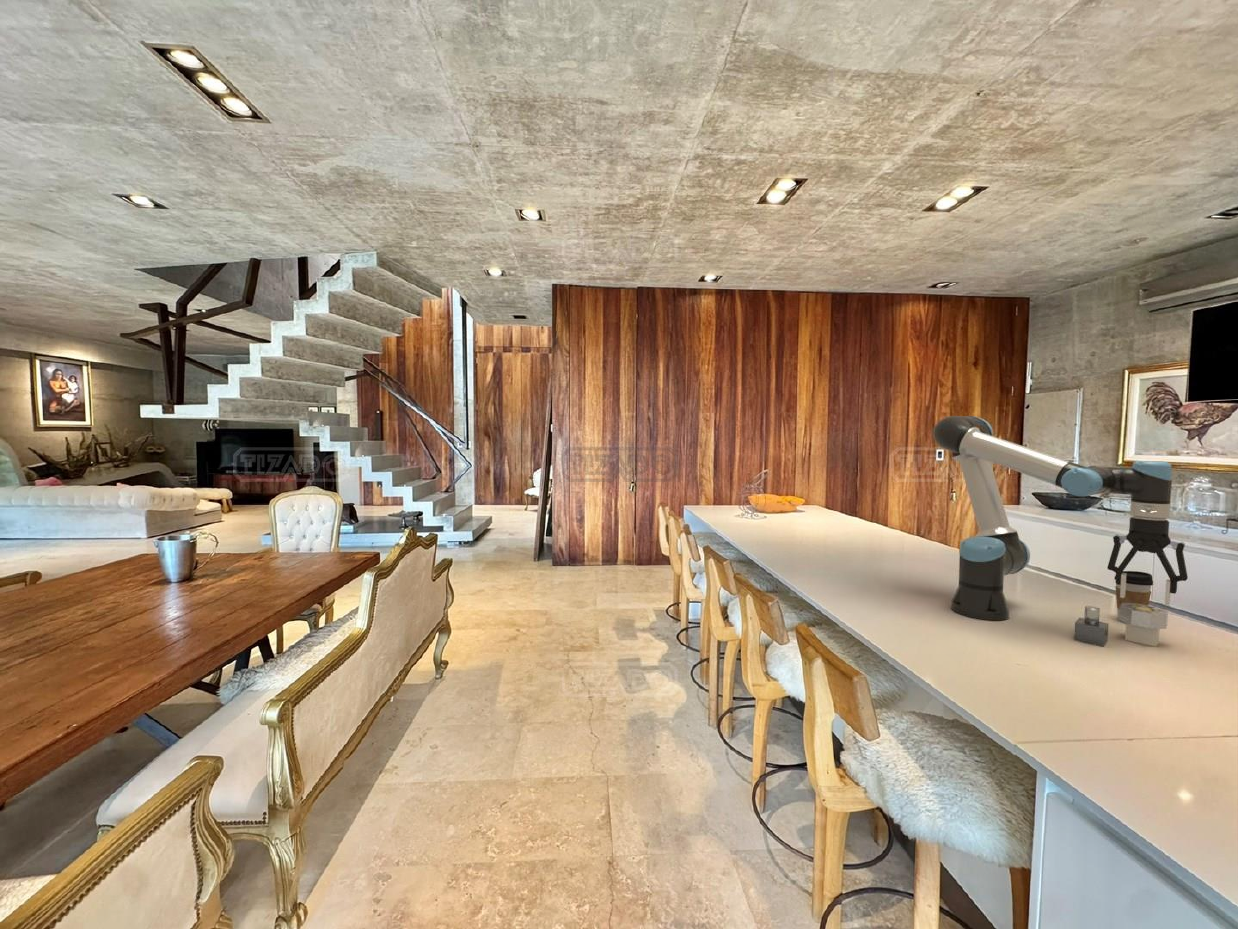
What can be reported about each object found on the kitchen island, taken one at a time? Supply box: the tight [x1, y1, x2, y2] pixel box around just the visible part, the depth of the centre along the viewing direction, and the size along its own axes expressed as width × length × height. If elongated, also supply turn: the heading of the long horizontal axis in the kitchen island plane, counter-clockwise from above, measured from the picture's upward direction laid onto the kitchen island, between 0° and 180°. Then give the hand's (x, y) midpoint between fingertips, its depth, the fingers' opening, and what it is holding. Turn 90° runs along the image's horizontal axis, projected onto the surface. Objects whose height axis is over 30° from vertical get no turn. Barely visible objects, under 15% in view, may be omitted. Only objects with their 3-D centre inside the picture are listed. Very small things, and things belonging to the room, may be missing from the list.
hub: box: [1124, 607, 1161, 648], centre depth 143 cm, size 6×6×9 cm
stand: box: [1073, 605, 1109, 648], centre depth 143 cm, size 6×6×9 cm
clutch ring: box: [1118, 603, 1169, 630], centre depth 143 cm, size 9×9×4 cm
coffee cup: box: [1114, 570, 1154, 624], centre depth 158 cm, size 8×8×15 cm
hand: (1144, 600), depth 143 cm, fingers open, 8 cm apart
